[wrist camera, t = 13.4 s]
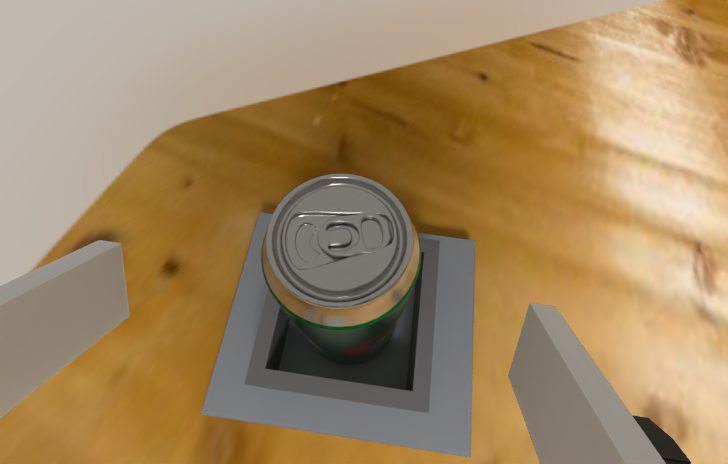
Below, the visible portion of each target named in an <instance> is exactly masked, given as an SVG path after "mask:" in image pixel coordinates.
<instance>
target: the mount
mask: <svg viewBox="0 0 728 464" xmlns="http://www.w3.org/2000/svg"><path fill="white" fill-rule="evenodd" d="M271 216H272V214H269V213H262V212H259V215H258V219H257V222H256V226H255V229H254V233H253V236H252V240H251V243H250V246H249V250H248V253H247V257H246V260H245V264H244V267H243V271H242V274H241V278H240V281H239V284H238V288H237V291H236V295H235V298H234V302H233V305H232V309H231V312H230V316H229V319H228V322H227V326H226V329H225V333H224V336H223V340H222V343H221V347H220V350H219V354H218V357H217V360H216V364H215V367H214V371H213V374H212V378H211V381H210V385H209V388H208V392H207V395H206V399H205V402H204V405H203V409H202V412H201V414H204V415H210V416H216V417H222V418H228V419H235V420H241V421H247V422H253V423H259V424H266V425H272V426H278V427H284V428H291V429H297V430H303V431H309V432H315V433H322V434H328V435H334V436H340V437H347V438H353V439H359V440H365V441H371V442H378V443H384V444H390V445H396V446H402V447H409V448H415V449H421V450H427V451H434V452H440V453H446V454H452V455H458V456H465V457H471V415H472V369H473V323H474V277H475V240H468V239H461V238H453V237H445V236H438V235H430V234H422V233H418V235H419V238H420V245H421V264H420V269H419V274H418V277H417V279H416V282H415V284H414V287H413V289H412V291H411V294H410V296H409V298H408V301H407V303H406V305H405V308H404V310H403V312H402V314H401V317H400V319H399V321H398V324H397V326H396V328H395V331H394V333H393V335H392V337H391V340H390V341H389V343H388V345H387V346H386V347H385V349H384V350H383V351H382V352H381V353H380V354H379V355H377V356H376V357H374V358H373V359H371V360H369V361H367V362H365V363H361V364H357V365H343V364H338V363H335V362H332V361H330V360H328V359H326V358H325V357H324V356H322V355H321V354H320V353H319V352H318V351H317V350H316V349H315V348H314V347H313V345H312V344H311V343H310V342H309V341H308V339H307V338H306V337H305V336H304V334H303V333H302V332H301V331H300V329H299V328H298V327H297V326H296V325H295V323H294V322H293V321H292V320H291V318H290V317H289V316H288V315H287V314H286V312H285V311H284V310H283V309H282V307H281V306H280V305H279V304H278V302H277V301H276V300H275V298H274V297H273V296H272V294H271V292H270V290H269V288H268V286H267V284H266V282H265V278H264V275H263V272H262V264H261V251H262V244H263V240H264V236H265V233H266V231H267V228H268V224H269V221H270V219H271Z"/></svg>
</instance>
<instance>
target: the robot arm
mask: <svg viewBox="0 0 728 464" xmlns="http://www.w3.org/2000/svg"><path fill="white" fill-rule="evenodd" d="M129 316H130V312H129V304H128V295H127V287H126V279H125V271H124V263H123V255H122V247H121V243H116V242H109V241H102V240H98V241H96V242H94V243H92V244H89V245H87V246H85V247H83V248H81V249H79V250H77V251H74V252H72V253H70V254H68V255H66V256H64V257H62V258H59V259H57V260H55V261H53V262H51V263H49V264H47V265H45V266H42V267H40V268H38V269H36V270H34V271H32V272H30V273H27V274H25V275H23V276H21V277H19V278H17V279H15V280H13V281H10V282H9V283H6V284H4V285H2V286H0V418H2V417H3V416H4V415H5V414H7V413H8V412H9V411H11V410H12V409H13V408H14V407H16V406H17V405H18V404H19V403H21V402H22V401H23V400H24V399H26V398H27V397H28V396H29V395H31V394H32V393H33V392H34V391H36V390H37V389H38V388H39V387H41V386H42V385H43V384H45V383H46V382H47V381H48V380H50V379H51V378H52V377H53V376H55V375H56V374H57V373H58V372H60V371H61V370H62V369H63V368H65V367H66V366H67V365H68V364H70V363H71V362H72V361H73V360H75V359H76V358H77V357H79V356H80V355H81V354H82V353H84V352H85V351H86V350H87V349H89V348H90V347H91V346H92V345H94V344H95V343H96V342H97V341H99V340H100V339H101V338H102V337H104V336H105V335H106V334H108V333H109V332H110V331H111V330H113V329H114V328H115V327H116V326H118V325H119V324H120V323H121V322H123V321H124V320H125V319H126V318H128V317H129ZM508 376H509V379H510V382H511V384H512V387H513V390H514V393H515V395H516V398H517V401H518V404H519V406H520V409H521V412H522V415H523V417H524V420H525V423H526V426H527V429H528V431H529V434H530V437H531V440H532V442H533V445H534V448H535V451H536V453H537V456H538V459H539V462H540V464H691V462H690V460H689V459H688V458H687V457H686V455H685V454H684V453H683V451H682V450H681V449H680V448H679V446H678V445H677V444H676V442H675V441H674V440H673V439H672V438H671V437H670V436H669V435H668V434H666V433H665V432H664V431H663V430H662V429H661V428H659V427H658V426H657V425H656V424H655V423H654V422H652V421H651V420H650V419H649V418H645V417H638V416H632V415H631V413H630V412H629V410H628V409H627V408H626V406H625V405H624V403H623V402H622V400H621V399H620V398H619V396H618V395H617V393H616V392H615V391H614V389H613V388H612V386H611V385H610V383H609V382H608V381H607V379H606V378H605V376H604V375H603V373H602V372H601V371H600V369H599V368H598V366H597V365H596V364H595V362H594V361H593V359H592V358H591V356H590V355H589V354H588V352H587V351H586V349H585V348H584V346H583V345H582V344H581V342H580V341H579V339H578V338H577V337H576V335H575V334H574V332H573V331H572V329H571V328H570V327H569V325H568V324H567V322H566V321H565V320H564V318H563V317H562V315H561V314H560V312H559V311H558V310H557V308H556V307H555V306H548V305H541V304H534V303H530V304H529V307H528V311H527V314H526V317H525V321H524V324H523V328H522V331H521V334H520V338H519V341H518V344H517V348H516V351H515V355H514V358H513V361H512V365H511V368H510V371H509V375H508Z"/></svg>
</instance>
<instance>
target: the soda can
mask: <svg viewBox="0 0 728 464" xmlns="http://www.w3.org/2000/svg"><path fill="white" fill-rule="evenodd" d="M261 264H262V272H263V275H264V278H265V282H266V284H267V286H268V288H269V290H270V292H271V294H272V296H273V297H274V298H275V300H276V301H277V302H278V304H279V305H280V306H281V307H282V309H283V310H284V311H285V312H286V314H287V315H288V316H289V317H290V318H291V320H292V321H293V322H294V323H295V325H296V326H297V327H298V328H299V329H300V331H301V332H302V333H303V334H304V336H305V337H306V338H307V339H308V341H309V342H310V343H311V344H312V345H313V347H314V348H315V349H316V350H317V351H318V352H319V353H320V354H321V355H322V356H324V357H325V358H326V359H328V360H330V361H332V362H335V363H338V364H343V365H357V364H361V363H365V362H367V361H369V360H371V359H373V358H374V357H376V356H377V355H379V354H380V353H381V352H382V351H383V350H384V349H385V347H386V346H387V345H388V343H389V341H390V340H391V337H392V335H393V333H394V331H395V328H396V326H397V324H398V321H399V319H400V317H401V314H402V312H403V310H404V308H405V305H406V303H407V301H408V298H409V296H410V294H411V291H412V289H413V287H414V284H415V282H416V279H417V277H418V274H419V269H420V264H421V245H420V238H419V235H418V232H417V229H416V226H415V224H414V222H413V220H412V218H411V217H410V215H409V214H408V213H407V211H406V210H405V208H404V206H403V205H402V203H401V202H400V201H399V199H398V198H397V197H396V196H395V195H394V194H393V193H392V192H391V191H390V190H388V189H387V188H386V187H384V186H383V185H381V184H380V183H378V182H376V181H374V180H372V179H369V178H366V177H363V176H359V175H354V174H344V173H339V174H328V175H323V176H319V177H316V178H313V179H310V180H308V181H306V182H304V183H302V184H300V185H299V186H297V187H296V188H295V189H293V190H292V191H291V192H290V193H288V194H287V195H286V196H285V197H284V198H283V199H282V201H281V202H280V203H279V204H278V206H277V207H276V209H275V211H274V212H273V214H272V216H271V219H270V221H269V224H268V228H267V231H266V233H265V236H264V240H263V244H262V251H261Z"/></svg>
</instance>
